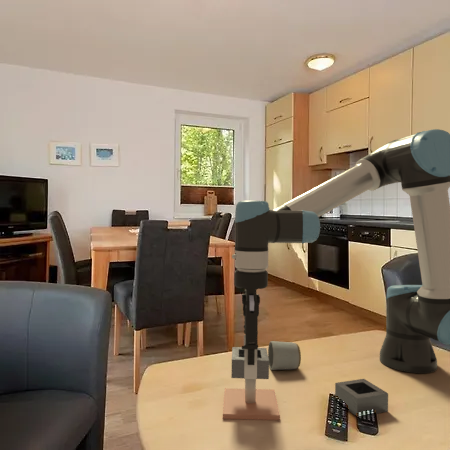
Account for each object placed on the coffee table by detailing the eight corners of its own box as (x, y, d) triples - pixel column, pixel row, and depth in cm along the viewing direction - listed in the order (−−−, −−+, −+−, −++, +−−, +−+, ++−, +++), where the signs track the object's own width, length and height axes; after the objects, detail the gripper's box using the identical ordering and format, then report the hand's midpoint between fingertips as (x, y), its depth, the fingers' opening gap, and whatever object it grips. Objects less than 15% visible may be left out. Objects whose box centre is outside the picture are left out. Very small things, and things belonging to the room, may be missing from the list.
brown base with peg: (274, 393, 90) (274, 355, 90) (279, 420, 78) (280, 375, 78) (224, 392, 91) (224, 354, 91) (222, 418, 79) (222, 374, 79)
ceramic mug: (302, 373, 102) (302, 345, 102) (272, 374, 102) (272, 345, 102) (291, 359, 113) (291, 334, 113) (265, 360, 112) (265, 334, 112)
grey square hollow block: (363, 395, 90) (364, 378, 90) (387, 411, 82) (388, 393, 82) (335, 400, 87) (335, 382, 87) (357, 417, 80) (357, 398, 80)
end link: (265, 365, 88) (266, 348, 88) (268, 379, 80) (269, 360, 80) (232, 363, 88) (232, 347, 88) (231, 378, 80) (231, 359, 80)
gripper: (234, 263, 95) (233, 353, 95) (233, 276, 74) (232, 390, 74) (264, 264, 94) (263, 354, 95) (272, 276, 74) (270, 391, 74)
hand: (249, 370), depth 84 cm, fingers closed on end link, 8 cm apart
